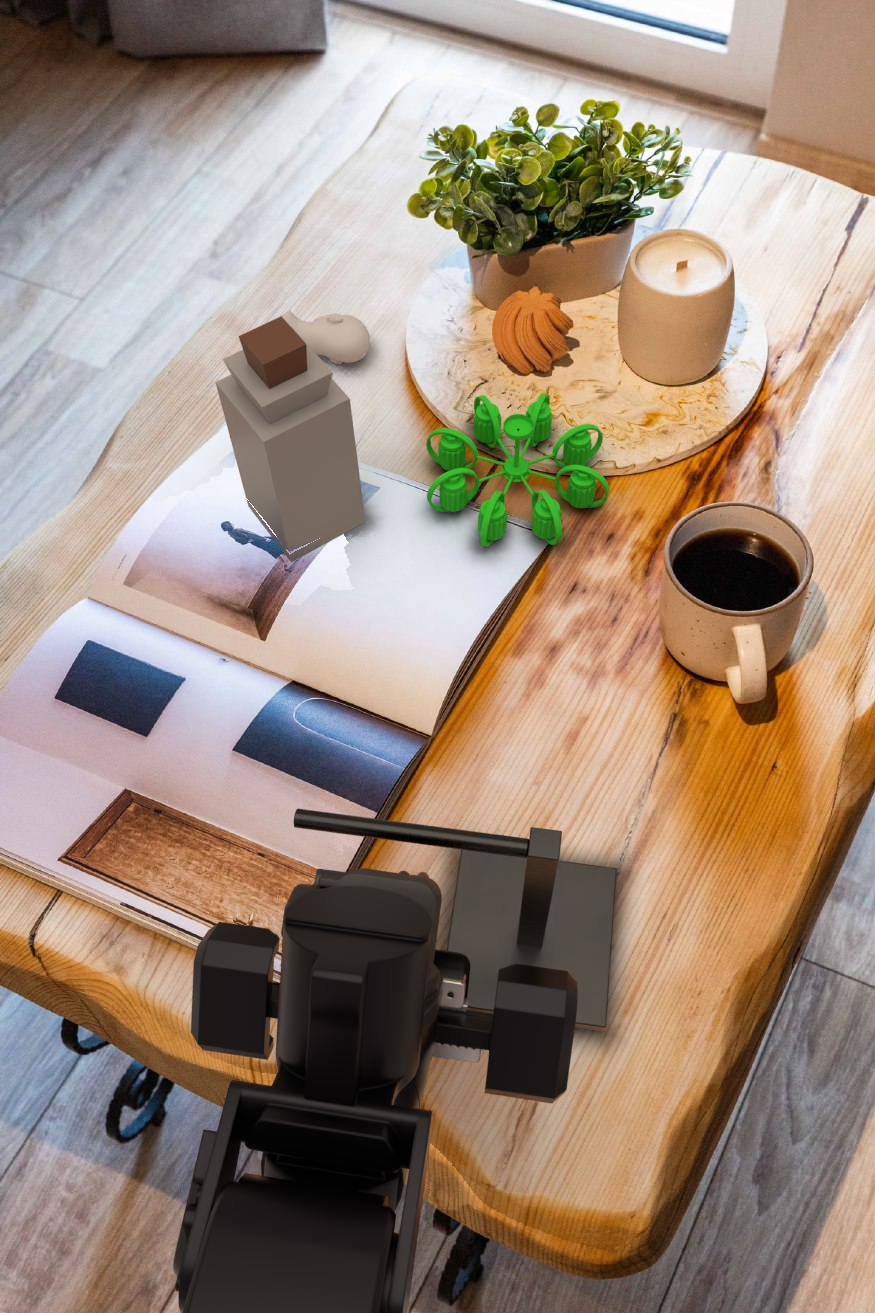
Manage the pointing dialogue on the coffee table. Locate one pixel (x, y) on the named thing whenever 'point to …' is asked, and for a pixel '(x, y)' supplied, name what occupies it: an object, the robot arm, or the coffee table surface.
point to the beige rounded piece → (333, 336)
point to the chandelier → (516, 468)
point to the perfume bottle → (292, 439)
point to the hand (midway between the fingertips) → (407, 933)
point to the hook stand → (513, 906)
